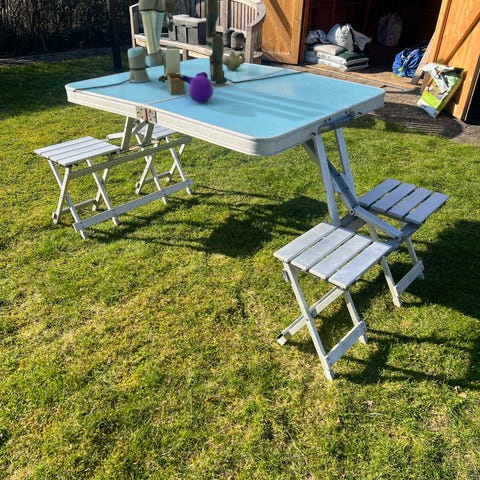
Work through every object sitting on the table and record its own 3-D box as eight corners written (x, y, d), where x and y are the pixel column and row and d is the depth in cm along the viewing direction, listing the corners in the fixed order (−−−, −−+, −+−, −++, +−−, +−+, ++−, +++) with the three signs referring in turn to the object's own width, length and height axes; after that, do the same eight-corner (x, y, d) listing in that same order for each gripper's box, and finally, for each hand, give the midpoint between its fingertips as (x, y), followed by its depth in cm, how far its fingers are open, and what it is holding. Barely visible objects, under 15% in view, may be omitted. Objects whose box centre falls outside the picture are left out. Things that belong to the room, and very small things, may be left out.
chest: (185, 94, 299) (183, 77, 293) (171, 95, 297) (169, 78, 292) (181, 89, 312) (180, 73, 307) (168, 90, 311) (166, 74, 305)
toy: (201, 94, 296) (213, 108, 275) (175, 89, 289) (185, 104, 268) (206, 69, 288) (219, 82, 267) (180, 64, 281) (191, 77, 260)
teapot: (225, 72, 363) (224, 52, 355) (218, 70, 371) (218, 50, 364) (248, 69, 372) (247, 50, 364) (241, 67, 381) (240, 48, 373)
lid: (179, 49, 294) (177, 42, 299) (165, 50, 292) (163, 43, 297) (180, 72, 307) (178, 66, 312) (166, 73, 305) (165, 66, 310)
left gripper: (188, 79, 329) (192, 85, 311) (154, 81, 324) (156, 87, 306) (187, 68, 325) (192, 73, 307) (153, 70, 320) (155, 76, 302)
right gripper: (175, 2, 274) (178, 31, 282) (172, 1, 286) (175, 29, 294) (163, 3, 273) (166, 32, 281) (161, 2, 285) (163, 30, 293)
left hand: (174, 80), depth 307 cm, fingers open, 13 cm apart
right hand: (170, 31), depth 288 cm, fingers open, 8 cm apart
